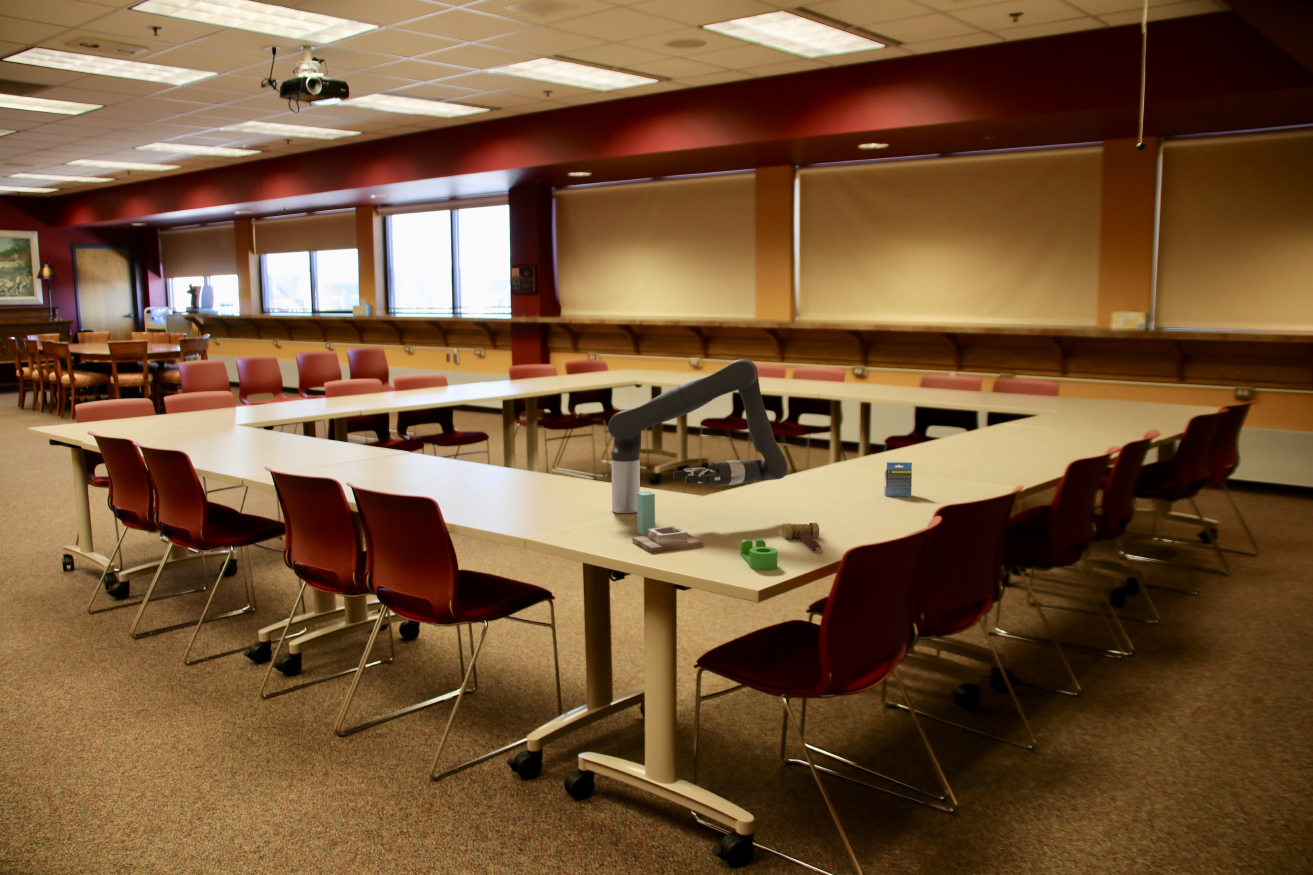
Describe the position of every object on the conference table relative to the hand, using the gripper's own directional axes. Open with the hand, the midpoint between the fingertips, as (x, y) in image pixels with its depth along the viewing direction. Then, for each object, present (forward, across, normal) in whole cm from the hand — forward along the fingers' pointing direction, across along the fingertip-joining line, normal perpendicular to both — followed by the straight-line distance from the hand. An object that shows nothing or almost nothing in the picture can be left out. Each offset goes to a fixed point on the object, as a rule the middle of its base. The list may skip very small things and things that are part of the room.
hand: (679, 477), depth 271 cm
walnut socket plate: (+11, +15, +16) cm, 24 cm away
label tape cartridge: (-91, -10, +16) cm, 93 cm away
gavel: (-25, +32, +17) cm, 44 cm away
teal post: (+11, 0, +16) cm, 19 cm away
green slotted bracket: (-3, +42, +16) cm, 45 cm away
